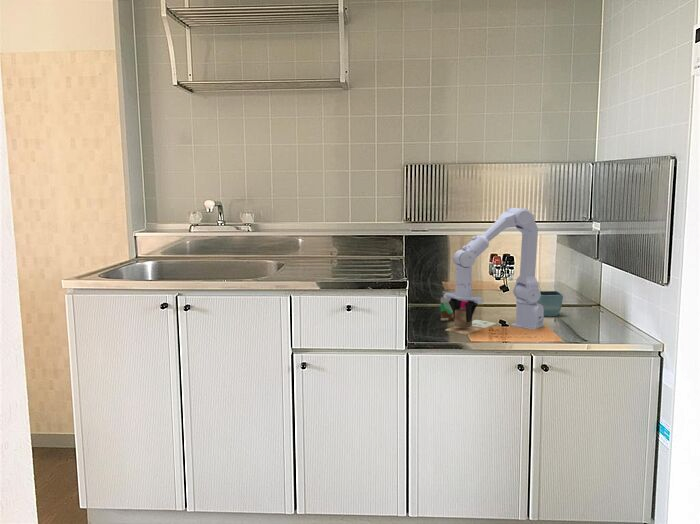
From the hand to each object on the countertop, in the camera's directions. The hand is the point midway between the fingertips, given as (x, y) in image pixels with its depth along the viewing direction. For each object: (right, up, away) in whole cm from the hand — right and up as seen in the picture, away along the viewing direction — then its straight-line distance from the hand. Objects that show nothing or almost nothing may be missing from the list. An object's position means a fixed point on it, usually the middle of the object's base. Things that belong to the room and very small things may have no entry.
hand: (462, 320), depth 229 cm
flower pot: (+38, 0, +23) cm, 44 cm away
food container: (-2, -1, +17) cm, 17 cm away
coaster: (0, -4, +1) cm, 4 cm away
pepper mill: (+5, 0, +28) cm, 29 cm away
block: (0, -2, +1) cm, 2 cm away
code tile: (+8, -2, +9) cm, 13 cm away
